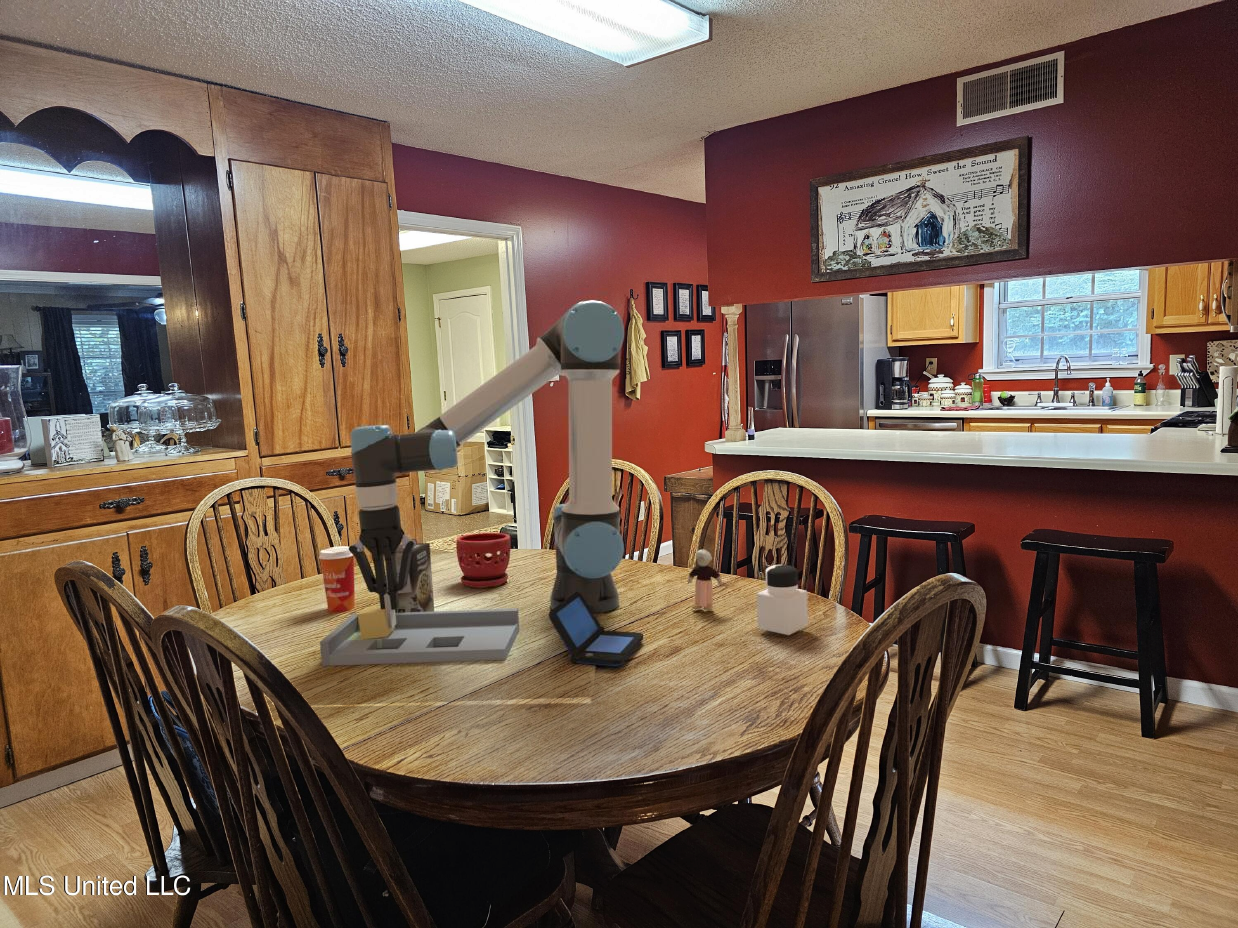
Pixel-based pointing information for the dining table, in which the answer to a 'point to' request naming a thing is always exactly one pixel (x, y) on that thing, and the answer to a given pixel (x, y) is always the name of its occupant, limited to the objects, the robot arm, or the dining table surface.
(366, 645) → the trap deck
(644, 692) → the dining table surface
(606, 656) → the handheld game console
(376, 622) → the block
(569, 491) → the robot arm
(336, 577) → the paper cup
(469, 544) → the plant pot
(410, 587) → the coffee box
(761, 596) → the medicine bottle
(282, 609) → the dining table surface
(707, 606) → the grandmother figurine
